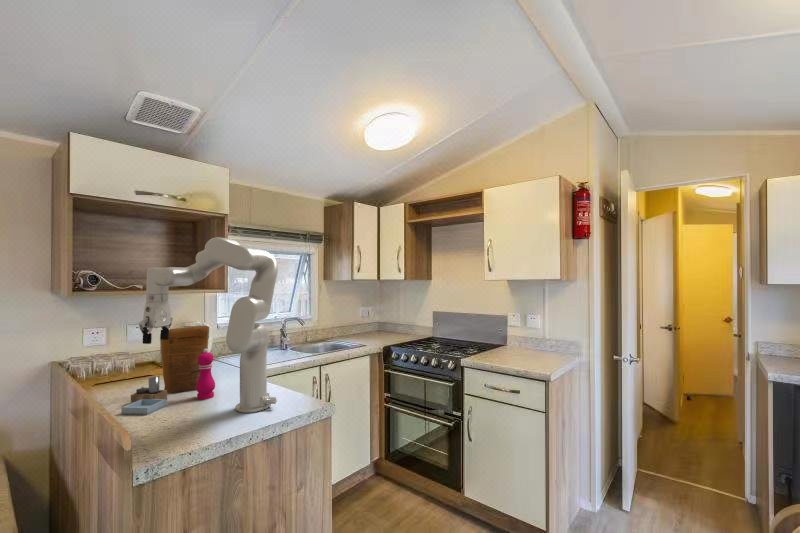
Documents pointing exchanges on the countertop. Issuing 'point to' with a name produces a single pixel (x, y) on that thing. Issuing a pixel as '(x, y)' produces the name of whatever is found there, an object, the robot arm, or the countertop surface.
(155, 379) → the lock pin
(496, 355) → the countertop surface
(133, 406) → the tray
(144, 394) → the tensioner block
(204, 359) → the pepper mill
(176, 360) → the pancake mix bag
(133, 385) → the countertop surface
